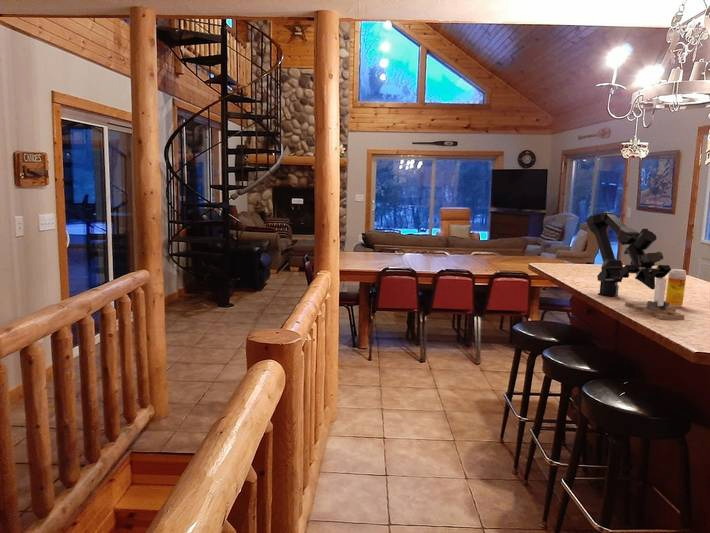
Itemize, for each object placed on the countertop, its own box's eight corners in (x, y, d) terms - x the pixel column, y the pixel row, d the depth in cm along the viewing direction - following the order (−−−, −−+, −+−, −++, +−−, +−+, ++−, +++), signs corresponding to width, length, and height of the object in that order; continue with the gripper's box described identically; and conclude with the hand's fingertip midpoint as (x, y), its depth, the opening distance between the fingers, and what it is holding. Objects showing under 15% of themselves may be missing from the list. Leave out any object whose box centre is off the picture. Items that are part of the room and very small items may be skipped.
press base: (624, 305, 216) (625, 293, 215) (645, 305, 217) (646, 293, 216) (661, 319, 195) (663, 306, 194) (684, 319, 196) (685, 306, 195)
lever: (651, 307, 204) (655, 277, 202) (659, 306, 204) (663, 277, 203) (655, 308, 202) (659, 278, 200) (664, 308, 202) (667, 279, 200)
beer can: (673, 308, 213) (678, 271, 211) (661, 304, 219) (665, 268, 217) (685, 307, 215) (690, 271, 213) (673, 303, 221) (677, 268, 218)
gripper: (627, 244, 207) (642, 277, 198) (671, 244, 209) (688, 277, 200) (613, 261, 216) (627, 293, 207) (655, 261, 218) (670, 293, 209)
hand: (653, 288), depth 206 cm, fingers closed
